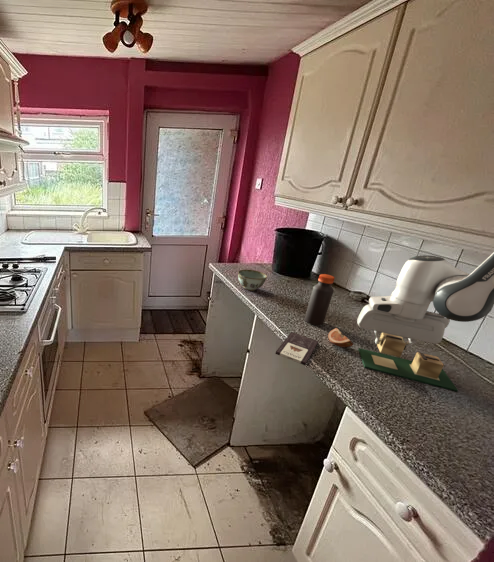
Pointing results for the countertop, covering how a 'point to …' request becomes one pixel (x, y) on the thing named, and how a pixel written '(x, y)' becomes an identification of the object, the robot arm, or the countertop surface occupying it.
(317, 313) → the bottle
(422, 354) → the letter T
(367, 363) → the word mat
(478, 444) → the countertop surface
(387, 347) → the light wooden cube
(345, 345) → the fruit slice
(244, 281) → the bowl
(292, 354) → the chocolate bar
